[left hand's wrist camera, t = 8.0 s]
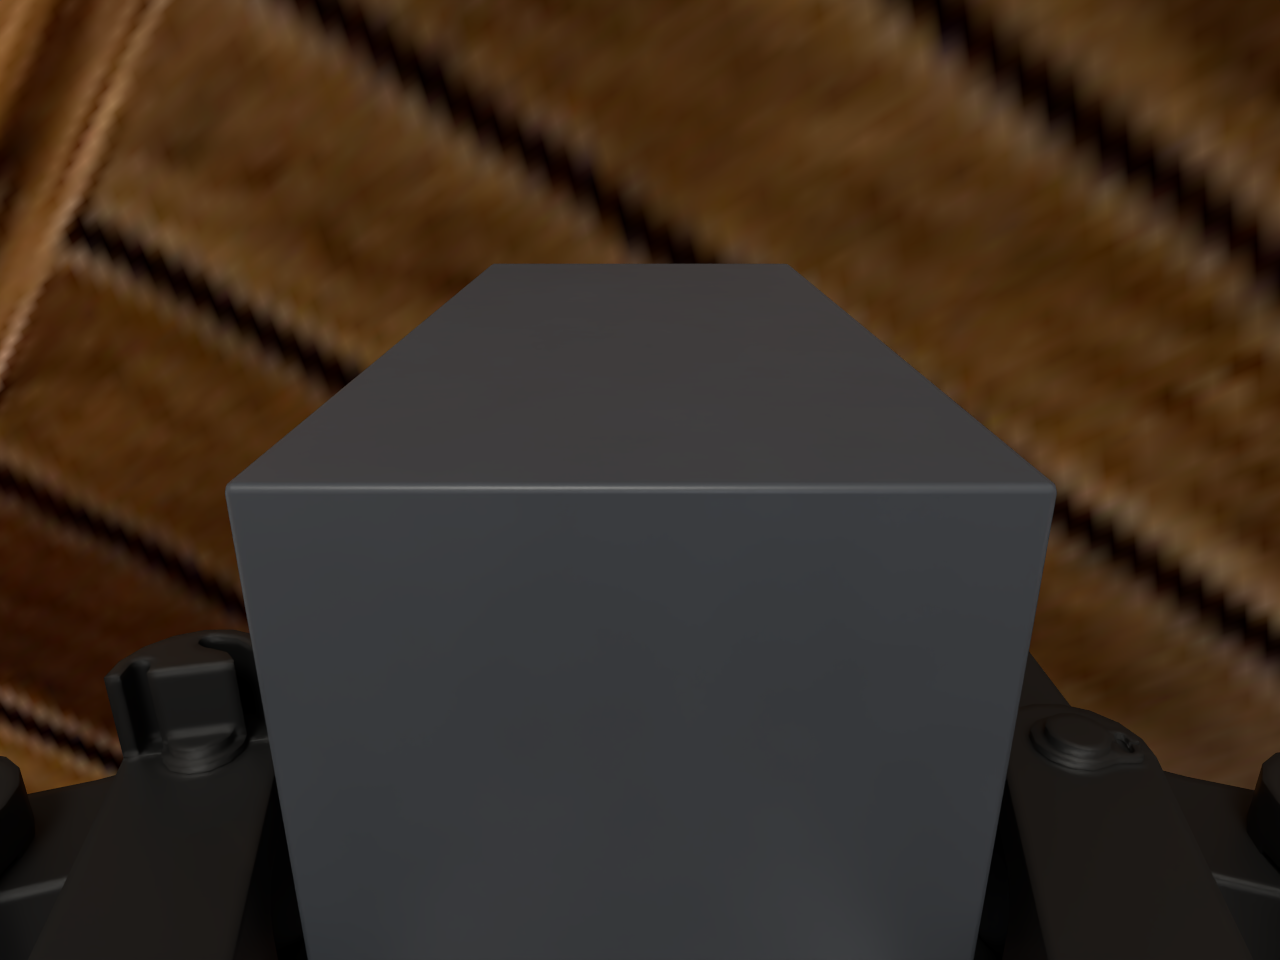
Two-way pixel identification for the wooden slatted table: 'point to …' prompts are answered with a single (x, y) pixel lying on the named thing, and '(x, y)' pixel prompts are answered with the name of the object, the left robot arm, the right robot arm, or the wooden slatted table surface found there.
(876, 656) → the bar
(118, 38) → the wooden slatted table surface
